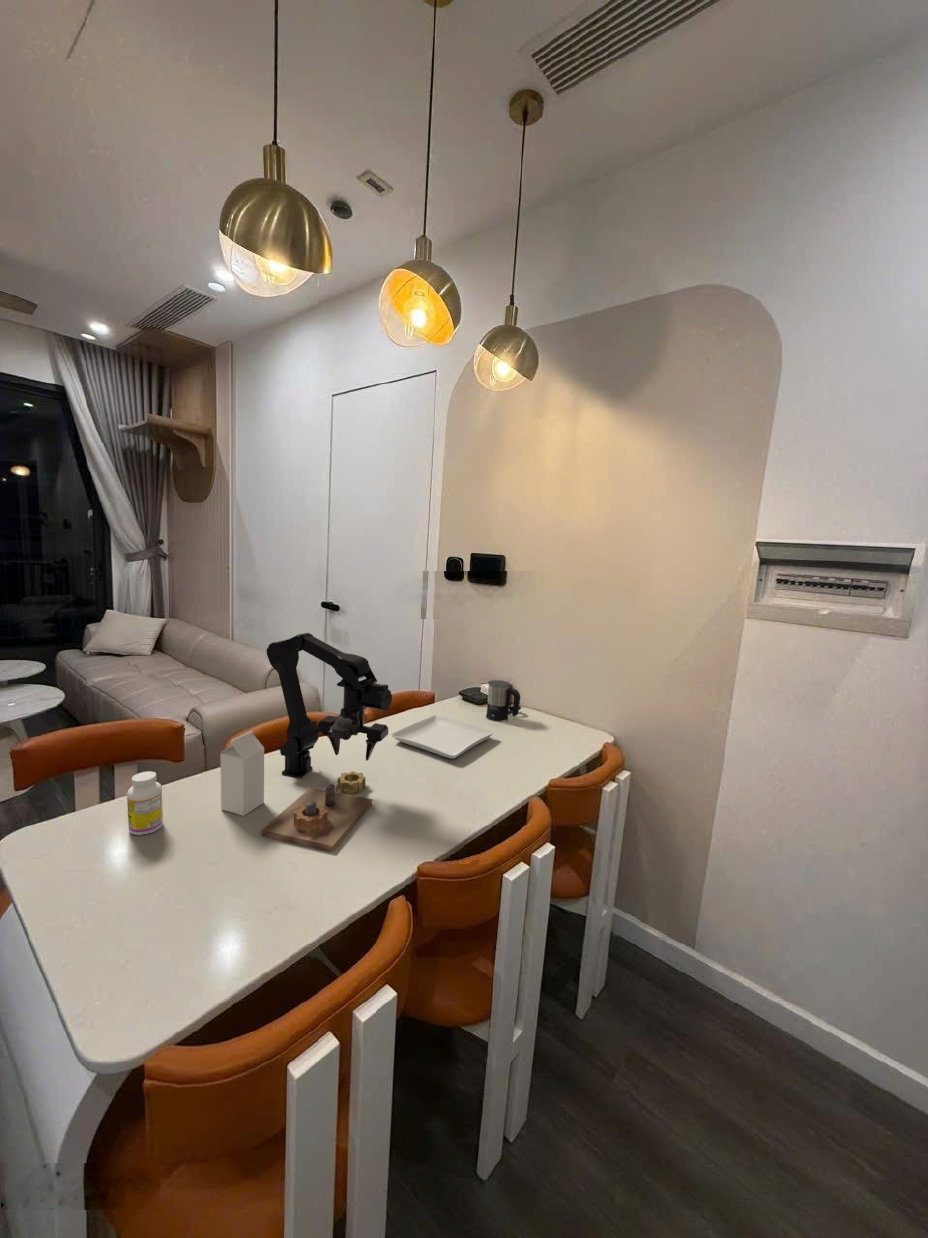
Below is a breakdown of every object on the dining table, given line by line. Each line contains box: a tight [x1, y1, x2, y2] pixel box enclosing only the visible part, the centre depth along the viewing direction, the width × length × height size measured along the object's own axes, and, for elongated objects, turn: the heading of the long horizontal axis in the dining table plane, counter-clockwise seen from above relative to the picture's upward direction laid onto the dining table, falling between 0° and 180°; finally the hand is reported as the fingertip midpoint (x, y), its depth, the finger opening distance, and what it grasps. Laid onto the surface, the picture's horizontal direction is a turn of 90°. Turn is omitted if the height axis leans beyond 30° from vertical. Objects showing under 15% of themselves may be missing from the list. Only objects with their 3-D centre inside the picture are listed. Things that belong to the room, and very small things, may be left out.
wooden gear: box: [336, 770, 367, 795], centre depth 134 cm, size 7×7×3 cm
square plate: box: [390, 714, 495, 759], centre depth 170 cm, size 27×27×4 cm
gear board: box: [261, 783, 373, 853], centre depth 118 cm, size 18×21×6 cm
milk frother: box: [485, 679, 522, 722], centre depth 199 cm, size 14×16×15 cm
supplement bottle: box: [126, 771, 164, 836], centre depth 109 cm, size 7×7×13 cm
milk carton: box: [220, 730, 265, 817], centre depth 120 cm, size 7×7×19 cm
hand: (352, 757), depth 133 cm, fingers open, 9 cm apart
